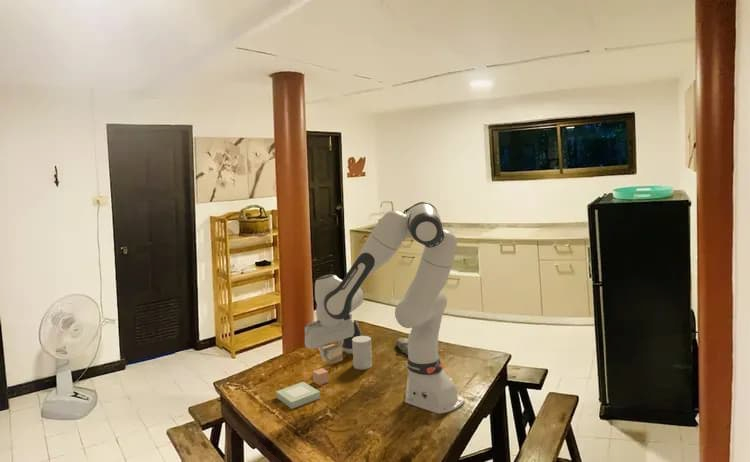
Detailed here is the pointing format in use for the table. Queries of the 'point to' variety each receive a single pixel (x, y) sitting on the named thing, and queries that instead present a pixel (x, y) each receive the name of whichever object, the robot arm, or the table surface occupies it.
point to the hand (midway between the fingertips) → (331, 353)
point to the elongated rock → (403, 344)
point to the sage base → (297, 395)
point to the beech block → (332, 354)
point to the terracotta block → (320, 376)
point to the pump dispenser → (348, 341)
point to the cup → (362, 352)
